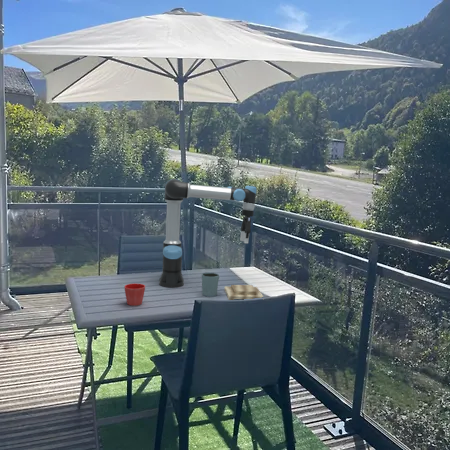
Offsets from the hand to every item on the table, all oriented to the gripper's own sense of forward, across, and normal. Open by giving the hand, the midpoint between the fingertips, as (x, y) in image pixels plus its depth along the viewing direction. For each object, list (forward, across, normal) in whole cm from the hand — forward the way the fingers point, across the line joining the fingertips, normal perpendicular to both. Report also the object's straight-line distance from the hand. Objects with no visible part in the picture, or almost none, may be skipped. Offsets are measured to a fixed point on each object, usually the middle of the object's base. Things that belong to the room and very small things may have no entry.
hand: (243, 242), depth 293 cm
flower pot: (+36, -46, +64) cm, 87 cm away
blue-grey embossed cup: (+30, -29, +22) cm, 47 cm away
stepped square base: (+28, -29, +2) cm, 41 cm away
